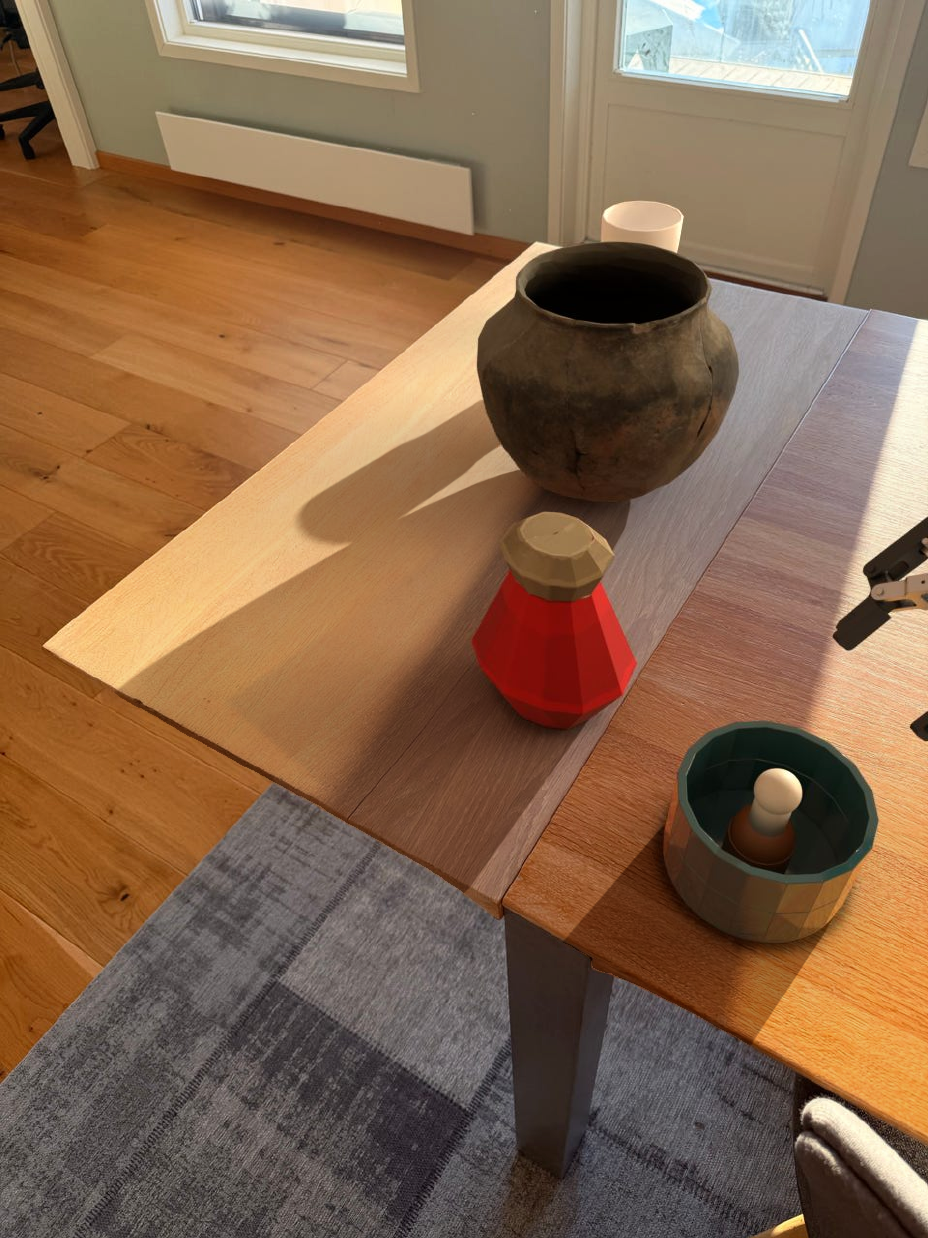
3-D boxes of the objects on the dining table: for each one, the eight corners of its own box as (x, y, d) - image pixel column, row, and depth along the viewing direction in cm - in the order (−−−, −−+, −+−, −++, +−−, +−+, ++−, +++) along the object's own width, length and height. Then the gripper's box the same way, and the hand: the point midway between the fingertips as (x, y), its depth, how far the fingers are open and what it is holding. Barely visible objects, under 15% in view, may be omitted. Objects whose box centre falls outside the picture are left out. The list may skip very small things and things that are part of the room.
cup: (633, 357, 133) (646, 238, 121) (578, 331, 140) (585, 215, 127) (683, 331, 138) (700, 214, 126) (627, 307, 145) (638, 194, 133)
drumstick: (794, 843, 74) (826, 765, 67) (778, 895, 71) (810, 819, 64) (731, 819, 76) (756, 740, 69) (713, 868, 73) (737, 791, 65)
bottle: (659, 695, 87) (688, 532, 73) (571, 782, 80) (585, 621, 66) (533, 619, 95) (538, 459, 81) (443, 692, 88) (431, 531, 74)
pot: (513, 577, 99) (516, 372, 82) (459, 425, 122) (452, 238, 104) (763, 538, 103) (817, 333, 85) (666, 397, 125) (692, 212, 108)
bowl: (861, 824, 76) (893, 759, 70) (823, 977, 67) (856, 918, 61) (694, 762, 81) (710, 696, 75) (637, 896, 72) (650, 834, 66)
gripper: (990, 428, 58) (792, 600, 64) (1179, 566, 48) (924, 754, 54) (1026, 479, 63) (838, 635, 68) (1204, 614, 53) (967, 783, 59)
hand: (876, 687), depth 61 cm, fingers open, 8 cm apart
